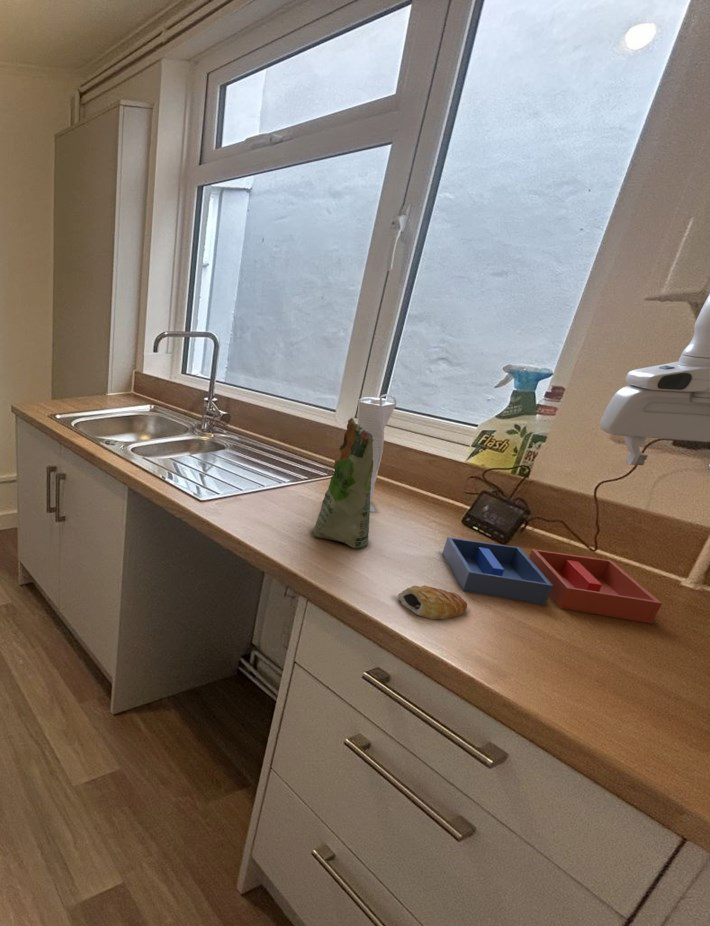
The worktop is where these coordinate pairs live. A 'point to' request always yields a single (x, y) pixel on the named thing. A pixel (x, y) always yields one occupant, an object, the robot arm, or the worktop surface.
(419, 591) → the pastry
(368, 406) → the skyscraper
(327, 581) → the worktop surface
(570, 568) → the red spoon
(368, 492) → the pouch
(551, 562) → the red bin
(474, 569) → the blue bin
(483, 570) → the blue spoon
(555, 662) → the worktop surface
